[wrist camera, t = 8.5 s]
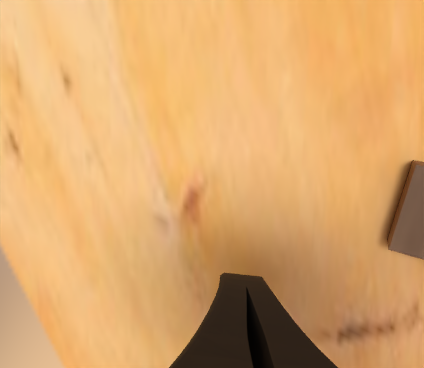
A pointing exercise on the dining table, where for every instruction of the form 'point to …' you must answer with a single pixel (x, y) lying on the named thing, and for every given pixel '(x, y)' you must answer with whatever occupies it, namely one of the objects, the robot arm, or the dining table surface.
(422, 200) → the domino
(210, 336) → the robot arm
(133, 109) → the dining table surface
